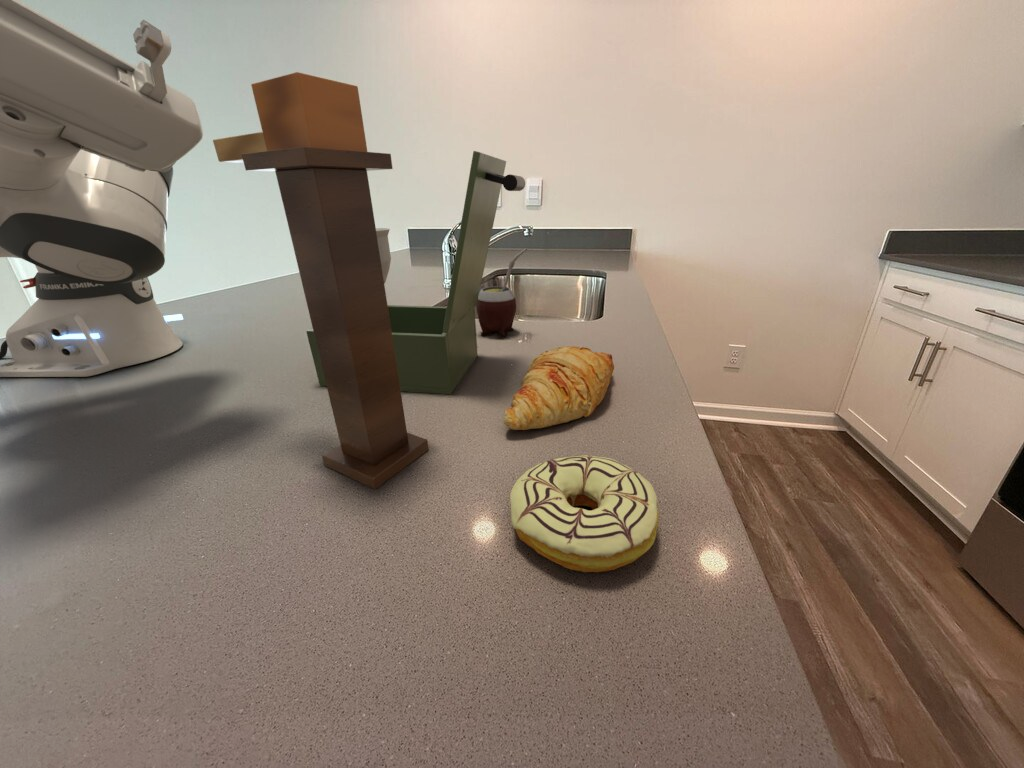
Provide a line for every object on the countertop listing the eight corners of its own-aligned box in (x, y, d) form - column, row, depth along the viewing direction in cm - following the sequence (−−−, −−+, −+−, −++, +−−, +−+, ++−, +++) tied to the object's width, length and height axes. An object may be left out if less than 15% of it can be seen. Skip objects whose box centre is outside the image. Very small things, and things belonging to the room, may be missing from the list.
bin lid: (473, 150, 40) (515, 161, 39) (501, 159, 52) (533, 168, 51) (442, 332, 48) (476, 342, 48) (472, 304, 61) (499, 312, 60)
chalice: (398, 338, 72) (382, 231, 65) (360, 339, 73) (340, 232, 65) (408, 326, 79) (394, 227, 71) (373, 326, 79) (356, 228, 72)
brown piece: (202, 161, 32) (184, 101, 31) (259, 163, 36) (245, 109, 34) (312, 149, 26) (296, 71, 24) (368, 153, 29) (358, 86, 28)
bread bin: (319, 386, 55) (305, 331, 52) (368, 350, 67) (360, 304, 64) (450, 394, 52) (445, 336, 49) (477, 356, 64) (474, 307, 61)
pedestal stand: (324, 465, 39) (241, 153, 28) (380, 431, 44) (329, 159, 33) (375, 489, 35) (304, 146, 24) (429, 449, 41) (390, 153, 30)
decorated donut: (532, 471, 37) (532, 436, 36) (655, 494, 34) (661, 457, 33) (492, 559, 28) (489, 518, 27) (652, 602, 25) (661, 558, 24)
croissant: (530, 475, 42) (562, 429, 37) (465, 410, 45) (486, 359, 40) (621, 396, 57) (653, 355, 51) (567, 352, 60) (592, 308, 54)
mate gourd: (473, 330, 76) (467, 246, 69) (511, 324, 79) (509, 243, 72) (487, 342, 70) (482, 251, 63) (528, 335, 72) (528, 247, 66)
